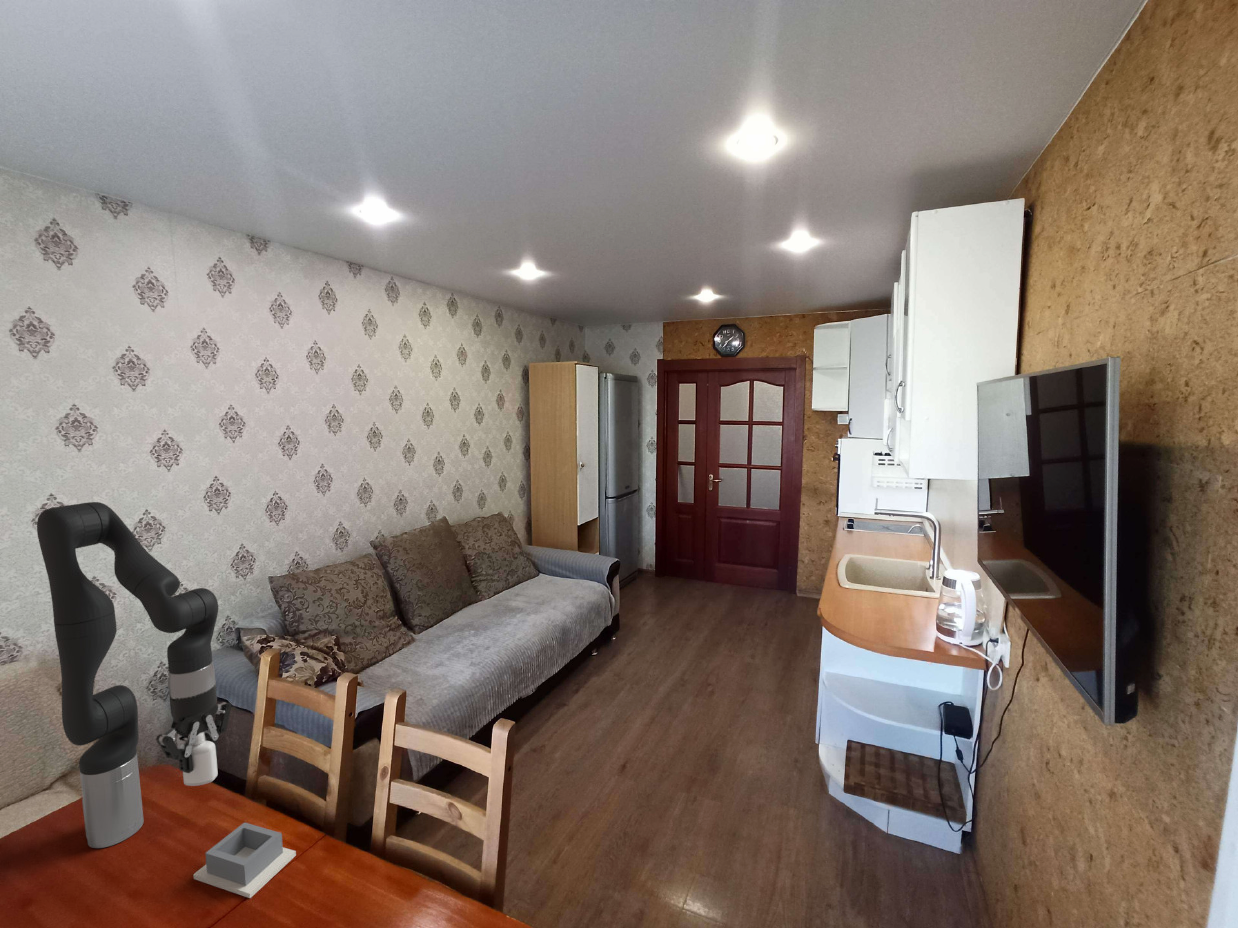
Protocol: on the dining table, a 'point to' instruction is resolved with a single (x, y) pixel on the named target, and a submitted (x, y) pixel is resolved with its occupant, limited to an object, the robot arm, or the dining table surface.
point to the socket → (245, 860)
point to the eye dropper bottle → (202, 762)
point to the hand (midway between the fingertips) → (199, 763)
